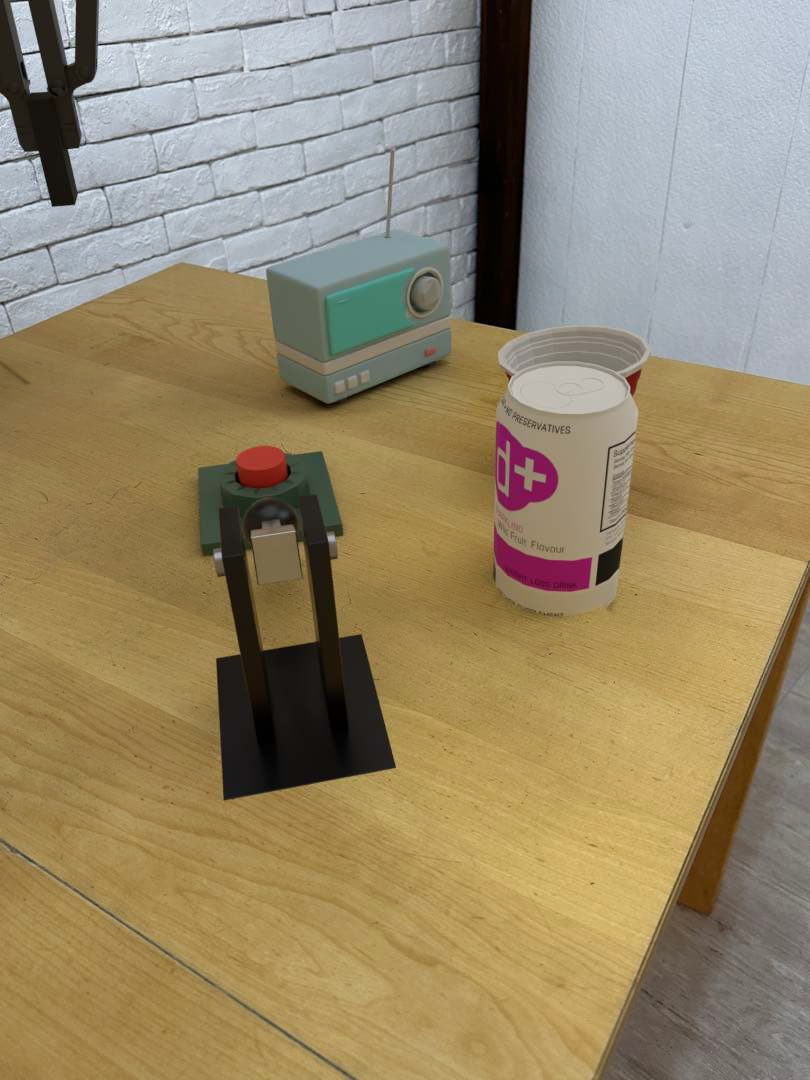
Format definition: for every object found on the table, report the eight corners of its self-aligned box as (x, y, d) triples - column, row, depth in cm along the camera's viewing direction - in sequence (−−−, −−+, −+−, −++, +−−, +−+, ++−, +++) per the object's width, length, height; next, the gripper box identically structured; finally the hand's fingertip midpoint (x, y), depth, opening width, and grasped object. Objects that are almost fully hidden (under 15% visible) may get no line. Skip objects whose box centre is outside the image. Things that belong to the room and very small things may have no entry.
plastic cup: (536, 443, 77) (542, 308, 71) (656, 477, 72) (675, 334, 65) (468, 501, 70) (468, 357, 64) (596, 543, 65) (611, 391, 58)
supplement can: (532, 645, 56) (544, 432, 48) (472, 573, 63) (473, 373, 54) (641, 608, 59) (671, 399, 50) (573, 542, 65) (589, 347, 57)
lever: (247, 553, 59) (238, 499, 59) (301, 544, 60) (293, 491, 59) (245, 600, 44) (233, 526, 43) (319, 588, 44) (308, 515, 44)
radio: (335, 417, 83) (314, 191, 71) (279, 387, 89) (251, 173, 77) (460, 365, 91) (459, 154, 80) (401, 341, 97) (392, 141, 85)
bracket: (218, 672, 56) (177, 480, 48) (363, 648, 57) (346, 456, 49) (226, 815, 47) (177, 608, 39) (397, 782, 48) (383, 576, 40)
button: (238, 469, 69) (234, 449, 68) (285, 462, 69) (282, 442, 68) (240, 493, 66) (237, 473, 65) (290, 486, 66) (287, 466, 65)
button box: (202, 490, 73) (193, 447, 71) (324, 473, 75) (320, 430, 72) (205, 569, 64) (196, 523, 62) (344, 548, 66) (340, 502, 64)
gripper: (-199, -271, 44) (-47, 224, 58) (80, -270, 46) (162, 208, 60) (-155, -252, 50) (-27, 193, 63) (90, -252, 52) (162, 179, 66)
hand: (65, 200), depth 62 cm, fingers closed
